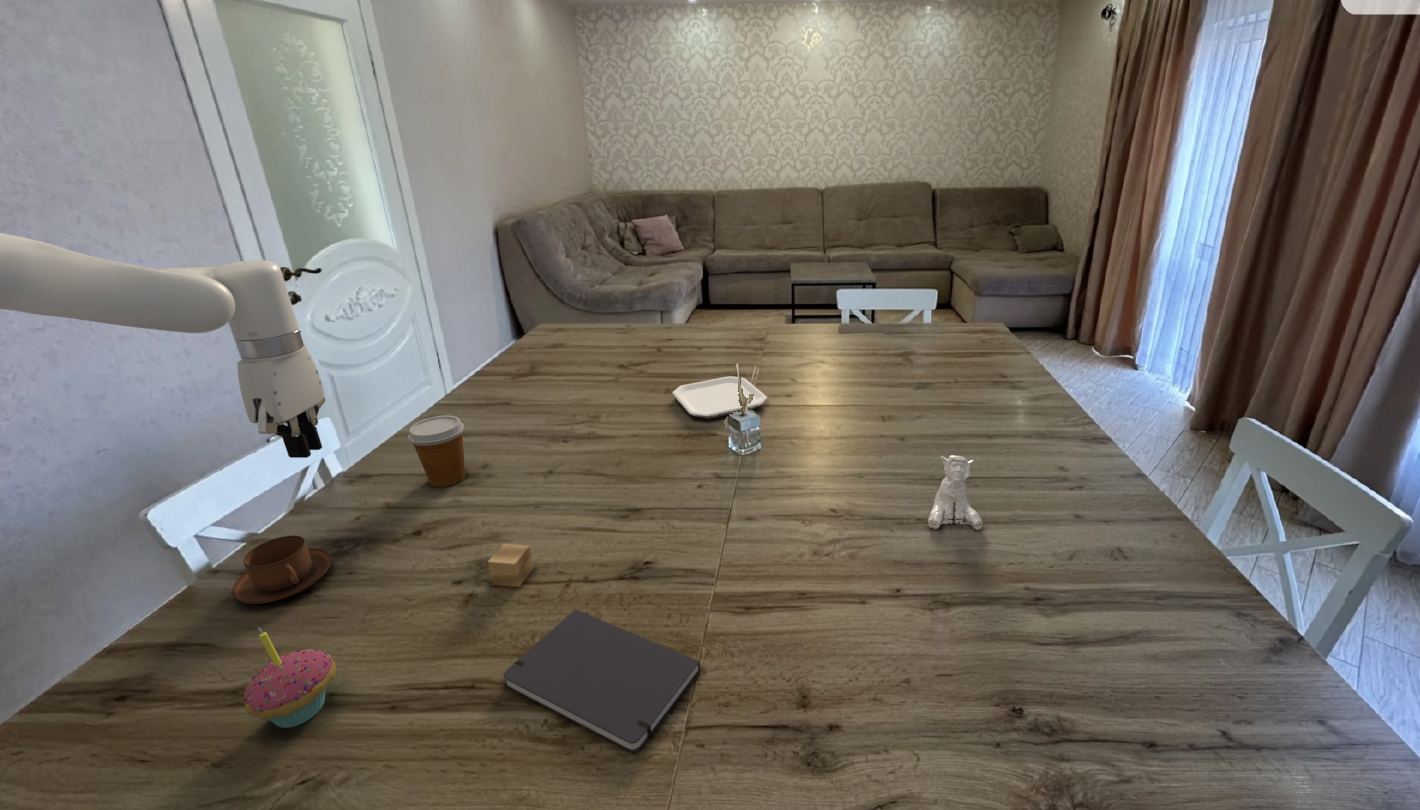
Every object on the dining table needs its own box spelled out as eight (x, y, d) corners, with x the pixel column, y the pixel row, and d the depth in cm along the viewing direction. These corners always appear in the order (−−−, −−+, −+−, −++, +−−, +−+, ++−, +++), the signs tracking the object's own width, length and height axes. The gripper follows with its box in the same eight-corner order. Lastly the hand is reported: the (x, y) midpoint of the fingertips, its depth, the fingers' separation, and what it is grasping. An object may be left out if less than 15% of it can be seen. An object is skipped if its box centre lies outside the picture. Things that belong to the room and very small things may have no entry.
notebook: (700, 670, 79) (576, 617, 87) (700, 661, 78) (575, 608, 87) (636, 755, 68) (502, 684, 77) (635, 745, 67) (500, 675, 76)
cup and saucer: (353, 564, 98) (342, 532, 96) (277, 618, 87) (264, 583, 85) (294, 552, 101) (283, 521, 99) (214, 603, 90) (200, 569, 88)
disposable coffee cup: (480, 479, 122) (468, 426, 118) (426, 497, 116) (412, 441, 112) (466, 461, 129) (455, 410, 125) (415, 477, 123) (401, 424, 119)
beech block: (519, 587, 93) (514, 564, 92) (492, 585, 94) (487, 561, 92) (534, 568, 97) (529, 545, 96) (508, 566, 98) (503, 543, 96)
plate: (668, 395, 161) (668, 387, 160) (740, 381, 170) (740, 373, 169) (695, 426, 144) (694, 418, 143) (773, 408, 153) (773, 400, 152)
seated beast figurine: (928, 530, 106) (933, 470, 102) (919, 502, 114) (924, 445, 110) (982, 531, 106) (990, 471, 102) (970, 503, 114) (977, 446, 110)
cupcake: (237, 731, 71) (202, 652, 67) (310, 673, 78) (283, 598, 74) (292, 751, 69) (258, 671, 64) (361, 689, 76) (336, 614, 72)
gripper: (287, 328, 99) (319, 430, 105) (197, 363, 84) (241, 479, 91) (333, 328, 99) (362, 430, 105) (251, 363, 84) (291, 479, 91)
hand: (305, 452), depth 98 cm, fingers closed
